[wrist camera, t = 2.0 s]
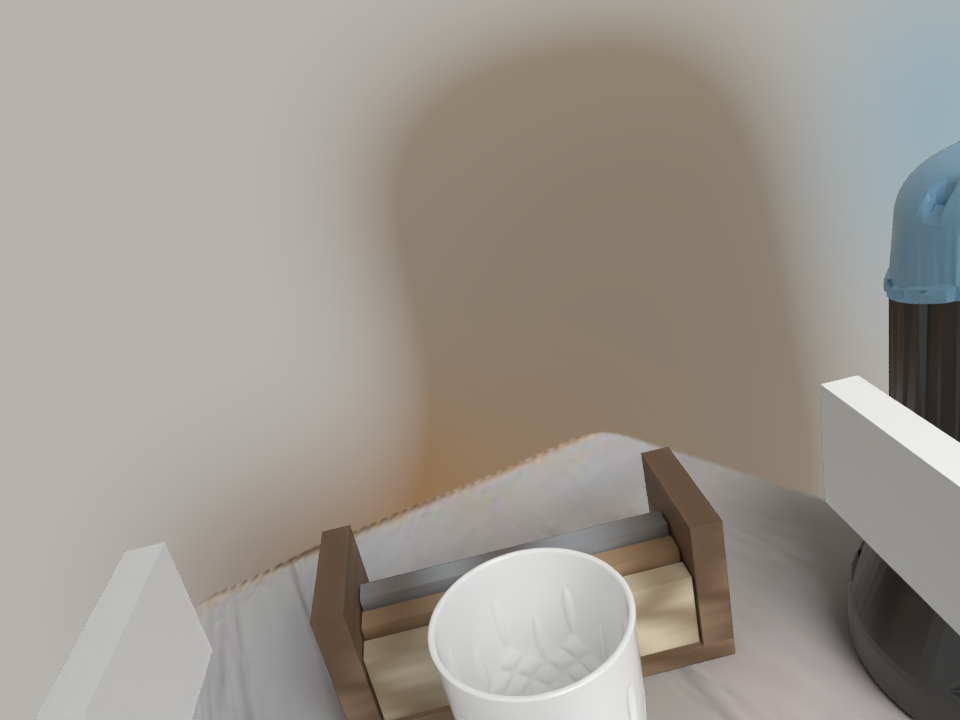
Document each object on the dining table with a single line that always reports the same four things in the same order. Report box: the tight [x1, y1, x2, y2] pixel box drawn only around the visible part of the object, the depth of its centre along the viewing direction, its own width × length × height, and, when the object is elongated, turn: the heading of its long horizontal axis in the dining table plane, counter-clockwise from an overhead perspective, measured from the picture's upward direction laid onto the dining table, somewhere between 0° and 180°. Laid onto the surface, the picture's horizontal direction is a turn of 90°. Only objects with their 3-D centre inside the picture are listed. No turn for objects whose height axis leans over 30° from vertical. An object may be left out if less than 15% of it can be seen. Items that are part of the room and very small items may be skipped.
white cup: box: [428, 548, 647, 720], centre depth 30 cm, size 8×8×10 cm
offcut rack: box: [310, 447, 735, 720], centre depth 38 cm, size 19×7×8 cm, turn 97°
